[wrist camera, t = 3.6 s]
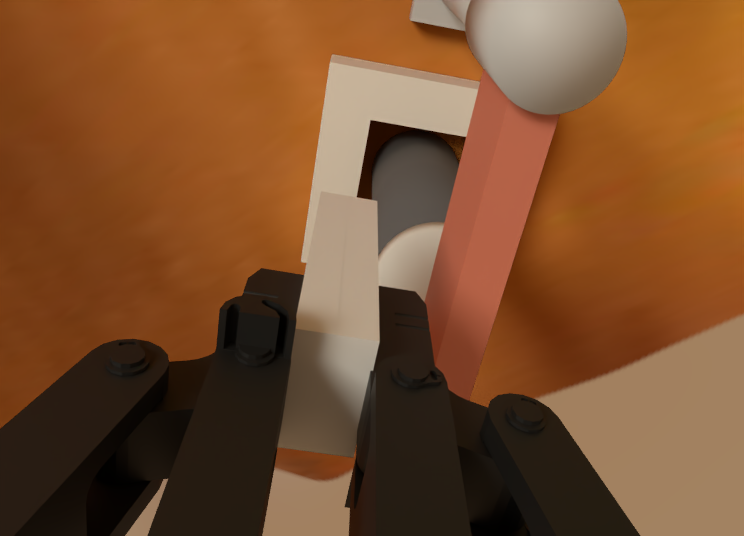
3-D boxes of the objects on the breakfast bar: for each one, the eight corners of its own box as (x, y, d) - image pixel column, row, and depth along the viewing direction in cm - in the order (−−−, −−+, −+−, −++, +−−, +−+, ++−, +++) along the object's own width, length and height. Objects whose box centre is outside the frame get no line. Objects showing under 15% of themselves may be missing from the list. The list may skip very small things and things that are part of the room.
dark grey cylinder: (364, 205, 34) (363, 333, 23) (380, 123, 32) (386, 221, 21) (447, 219, 34) (482, 351, 24) (467, 138, 32) (516, 243, 22)
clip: (378, 390, 23) (380, 476, 19) (480, -48, 16) (511, -41, 13) (457, 401, 23) (473, 488, 19) (587, -26, 16) (647, -13, 13)
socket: (304, 244, 35) (271, 402, 23) (352, -86, 28) (340, -95, 16) (485, 274, 36) (540, 439, 24) (578, -39, 28) (720, -16, 17)
